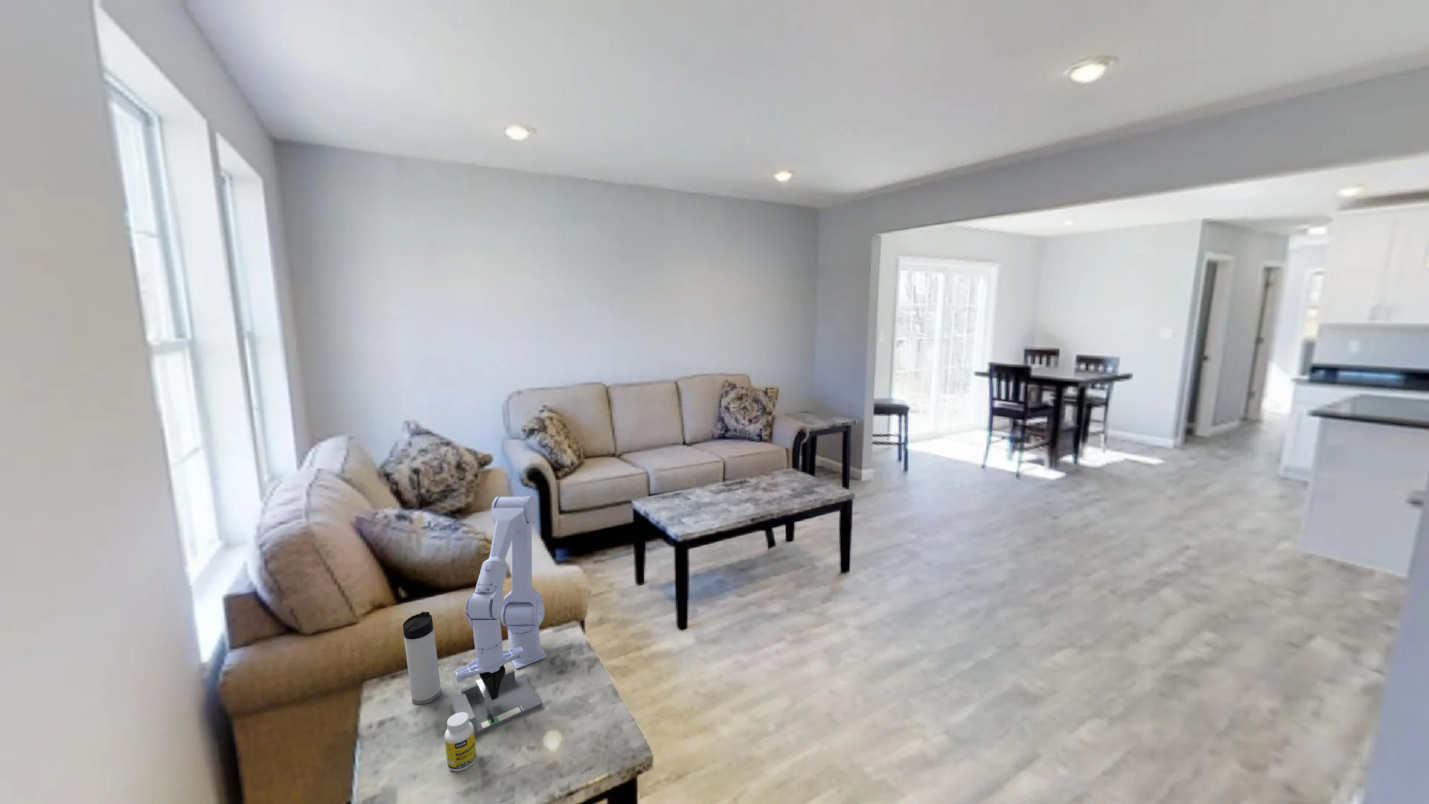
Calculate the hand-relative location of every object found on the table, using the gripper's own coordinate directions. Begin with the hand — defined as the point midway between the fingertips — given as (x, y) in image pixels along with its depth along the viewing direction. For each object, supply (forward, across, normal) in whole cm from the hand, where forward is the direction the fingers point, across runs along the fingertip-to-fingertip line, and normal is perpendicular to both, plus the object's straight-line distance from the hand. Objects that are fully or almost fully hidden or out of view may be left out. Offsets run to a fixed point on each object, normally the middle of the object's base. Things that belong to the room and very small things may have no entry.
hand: (493, 696), depth 128 cm
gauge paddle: (+2, -2, -1) cm, 3 cm away
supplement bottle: (+3, -10, -12) cm, 16 cm away
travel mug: (+3, -12, +15) cm, 19 cm away
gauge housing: (+3, 0, 0) cm, 3 cm away
